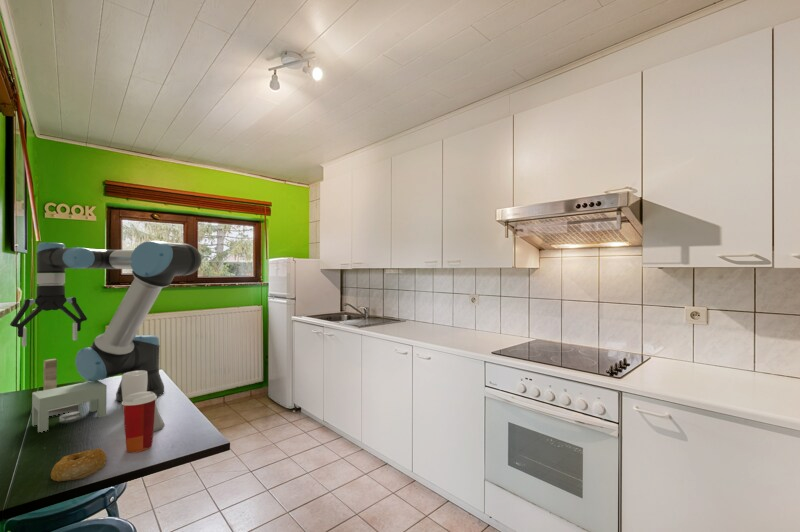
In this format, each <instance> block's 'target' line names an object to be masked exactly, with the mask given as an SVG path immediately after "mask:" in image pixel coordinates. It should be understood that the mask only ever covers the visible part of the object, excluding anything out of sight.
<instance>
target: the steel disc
mask: <svg viewBox="0 0 800 532" xmlns="http://www.w3.org/2000/svg"><path fill="white" fill-rule="evenodd" d="M81 415H82V414H81V411H73V412H69V413H65V414H60V415H59V424H70V423H74V422H77V421H79V420H81V418H82V417H81ZM69 422H70V423H69Z"/></svg>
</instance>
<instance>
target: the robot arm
mask: <svg viewBox="0 0 800 532" xmlns="http://www.w3.org/2000/svg"><path fill="white" fill-rule="evenodd" d="M36 251H37V252H36V272H37V273H36V284H37V286H36V297H35V299H29V298H25V299H24V300H23V304H22V306H21V307H20V309H19V310H18V312H17V314H16V315H15V317H14V318H13V319H12V320H11V322H10V324H9V325H10V326H11V327H13V328H17V337H18V338H21V346H22V347H24V348H25V347H27V338H28V337H27V336H28V335H27V331H28V330H27V327H26V325H28V323H30V322H31V321H32V320H33V319H34V318H35V317H36V316H37V315H38V314H39V313H41V312H42V311H45V312H47V311H57V310H60V311H62V312H63V313H65V315H67V316H68V317H69V318H71V320H72V321H74V322H72V341H74V342H75V341H78V332H80V331H81V329H82V328H81V327H82V322H84V321H88V317H87V316H86V315H85V313H84V312H83V310H82V308H81V307H80V306H79V304H78V302H77V298H76V296H71V297H67V298H66V286H65V285H64V284H66V269H75V270H77V269H79V270H81V269H84V270H85V269H87V270H88V269H93V270H94V269H95V270H96V269H98V270H99V269H101V270H102V269H103V270H104V269H105V270H132V272H131V274H132V276H133V281H131V284H130V286H129V287H128V289H127V291H126V293H125V295H124V296H123V298H122V301H120V304H119V305H118V307H117V309H116V310H115V313H114V315H113V316H112V318H111V320H110V322H109V324H108V325H107V328H106V329H105V331H104V333H101V334H99V335H97V336H96V337H95V338H94V340H93V342H92V344H91V345H90V346H89V347H88V346H86V347H84V348H81V349H79V350H78V352H77V353H76V355H75V360H74V361H75V368H76V371H77V372H78V374H79V375H80V377H82V379H84V380H85V381H87V382H90V381H97V380H98V381H103V380H106V379H109V378H111V377H112V378H113V377H115V376H119V375H122V374H124V373H127V372H132V371H141V370H143V371H147V376H148V383H147V391H150V392H153V393H155V394H156V395H157V396H156V397H159V396H161V395H163V394H164V393H165V385H164V382H163V379H162V376H161V374H160V347H161V345H160V338H159V337H158V336H157V335H151V334H147V335H146V334H138V332H139V330H140V329H141V327H142V325H143V323H144V321H145V320H146V317H147V315H148V314H149V312H150V311H151V309H152V307H153V305H154V304H155V302H156V301H157V299H158V296H159V294H160V293H161V292H162V289H163V288H167V287H170V285H171V284H172V282H173V279H174V278H175V277H182V276H183V277H185V276H190V275H193V274H194V273H196V272H197V271H198V270H199V268H200V267H201V264H202V261H203V260H202V254H201V252H200V251H199V249H197V248H196V247H194V246H193V245H191V244H189V243H181V242H180V243H179V242H170V241H163V240H148V241H143V242H142V243H139V245H137V246H136V247H135V248H134V249H99V248H98V249H97V248H86V247H79V246H75V247H66V245H65V243H62V242H40V243H38V244H37V250H36ZM66 302H68V304H71V306H72V308H73V309H74V311H75V312H76V313H77V315H78V316H79V317H77V316H76V315H75V314H74V313H73V312H72V311H71V310H69V309H68V308H67V306H65V304H66ZM33 304H36V306H37V307H35V308H34V309H33V311H31V312H30V313H29V314H28V315H27V316H26V317H25V318H24V319H23V320H22V317H23V316H24V315H25V313H26V312H27V310H28V309H29V308H30V306H32V305H33ZM121 381H122V378H121V380H120V382H119V385H118V388H117V390H116V393H115V400H116V401H117V402H120V403H122V402H123V399H122V388H121ZM163 392H164V393H163ZM162 393H163V394H162ZM160 394H161V395H160ZM158 395H159V396H158Z"/></svg>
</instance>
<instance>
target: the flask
mask: <svg viewBox="0 0 800 532" xmlns="http://www.w3.org/2000/svg"><path fill="white" fill-rule="evenodd" d="M155 396H156V397H158V396H157V395H156V394H155ZM164 426H165V422H164V419H163V417H162V416H161V413H160V411H159V409H158V407H157V402H156V401H155V414H154V428H153V433H154V432H157V431H159V430H162V429H163V427H164Z"/></svg>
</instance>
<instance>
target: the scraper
mask: <svg viewBox="0 0 800 532" xmlns="http://www.w3.org/2000/svg"><path fill="white" fill-rule="evenodd" d="M57 378H58V359H56V358H50V359H43V378H42V379H43V380H42V381H43V390H48V389H53V388H58V387H57V386H58V385H57V384H58V379H57ZM43 390H42V391H43ZM78 411H79V404H75V405H70V406H66V407H61V408H57V409H52V410H49V416H52V417H54V416H53V415H56V416H59V415H58V414H60V415H63V413H65V414H66V413H68V412H69V413H70V412H78Z"/></svg>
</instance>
